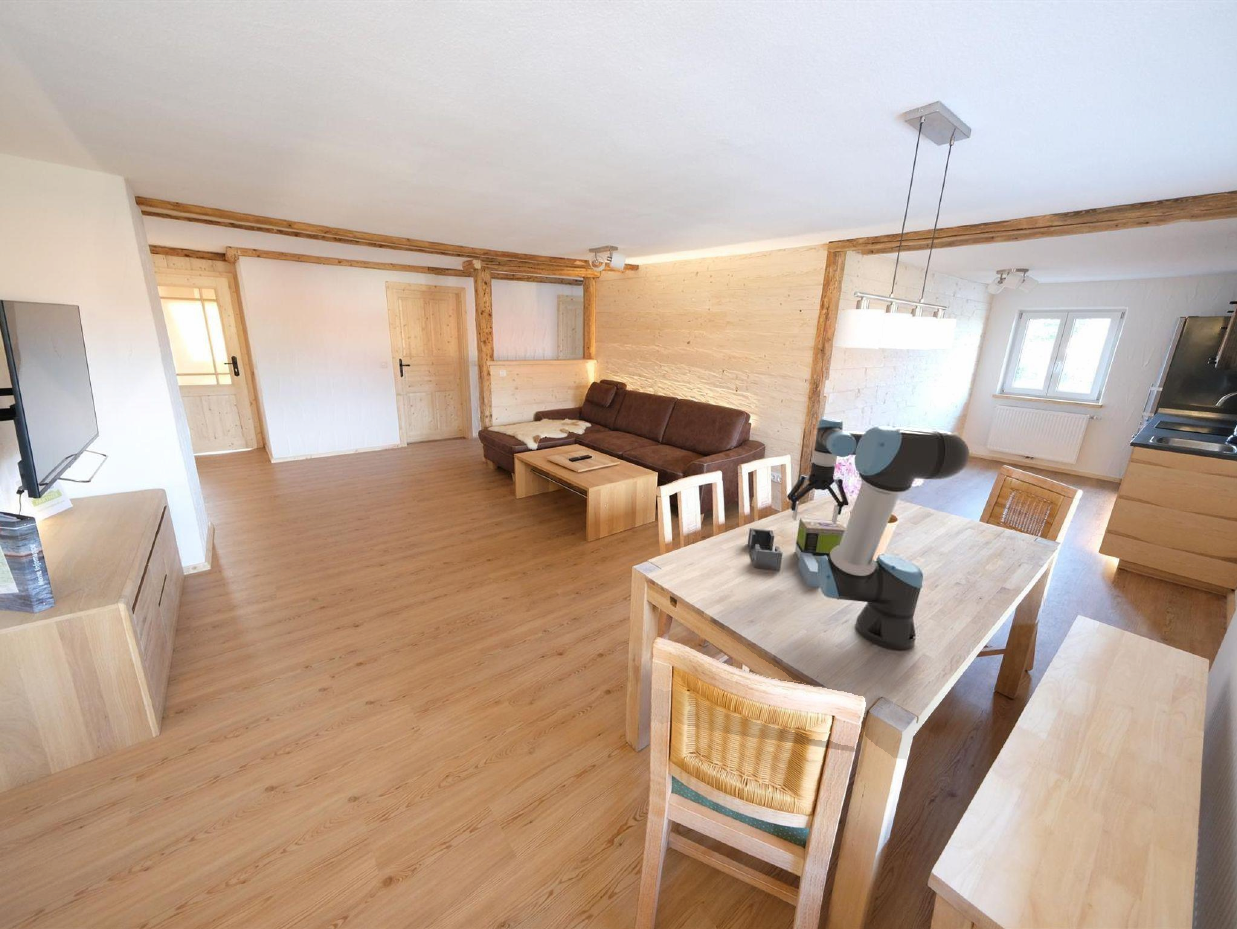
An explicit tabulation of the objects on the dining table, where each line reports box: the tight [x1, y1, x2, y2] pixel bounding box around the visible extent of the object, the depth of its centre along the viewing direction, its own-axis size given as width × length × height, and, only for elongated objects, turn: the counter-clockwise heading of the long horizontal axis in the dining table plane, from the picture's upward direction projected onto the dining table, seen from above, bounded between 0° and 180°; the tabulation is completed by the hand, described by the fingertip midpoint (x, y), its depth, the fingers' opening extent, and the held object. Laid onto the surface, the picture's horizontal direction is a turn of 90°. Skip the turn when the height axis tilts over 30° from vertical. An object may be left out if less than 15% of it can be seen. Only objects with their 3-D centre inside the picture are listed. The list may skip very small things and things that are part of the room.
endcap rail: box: [747, 527, 783, 572], centre depth 179 cm, size 20×9×7 cm, turn 172°
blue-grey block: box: [797, 552, 820, 588], centre depth 166 cm, size 14×4×6 cm, turn 173°
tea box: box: [794, 517, 846, 563], centre depth 178 cm, size 15×10×15 cm, turn 84°
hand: (813, 521), depth 166 cm, fingers open, 13 cm apart
